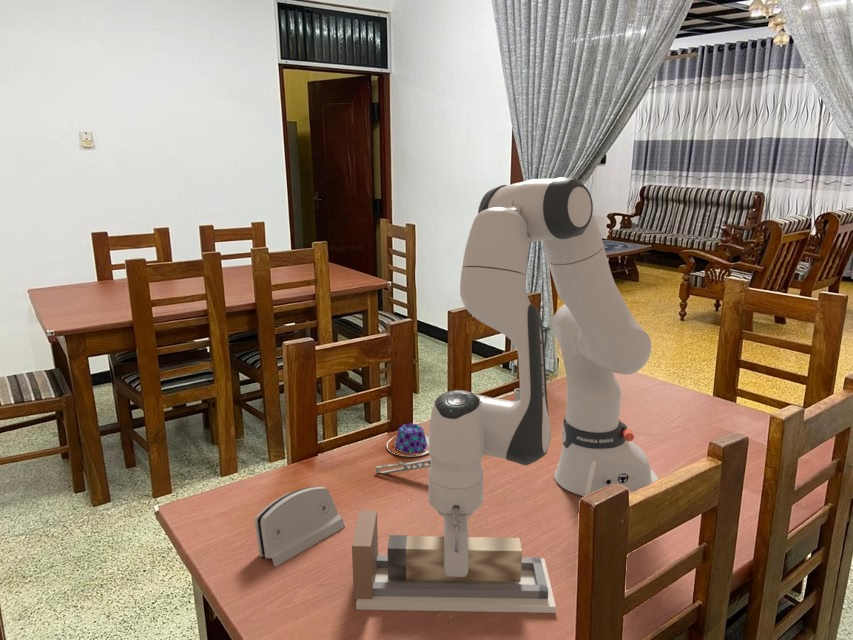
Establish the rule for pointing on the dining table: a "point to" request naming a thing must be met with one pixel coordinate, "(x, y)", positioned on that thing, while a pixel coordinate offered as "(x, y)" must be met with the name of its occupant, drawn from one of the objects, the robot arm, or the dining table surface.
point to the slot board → (441, 583)
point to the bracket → (405, 466)
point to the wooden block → (427, 559)
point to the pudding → (411, 439)
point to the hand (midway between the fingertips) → (454, 563)
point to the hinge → (296, 523)
